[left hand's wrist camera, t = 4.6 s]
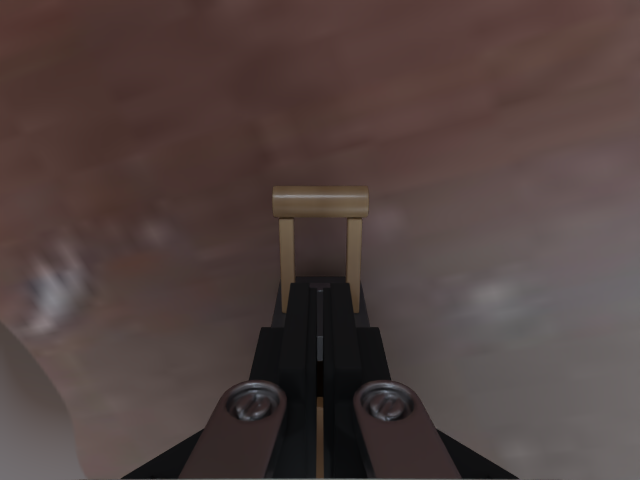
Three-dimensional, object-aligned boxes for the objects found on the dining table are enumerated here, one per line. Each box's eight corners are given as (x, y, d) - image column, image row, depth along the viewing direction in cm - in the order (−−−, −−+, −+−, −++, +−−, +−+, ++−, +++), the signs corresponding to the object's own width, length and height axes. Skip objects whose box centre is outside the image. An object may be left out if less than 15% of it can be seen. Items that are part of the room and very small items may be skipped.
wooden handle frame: (277, 168, 21) (262, 199, 16) (363, 168, 21) (378, 199, 16) (287, 485, 28) (280, 581, 23) (352, 485, 28) (360, 581, 23)
